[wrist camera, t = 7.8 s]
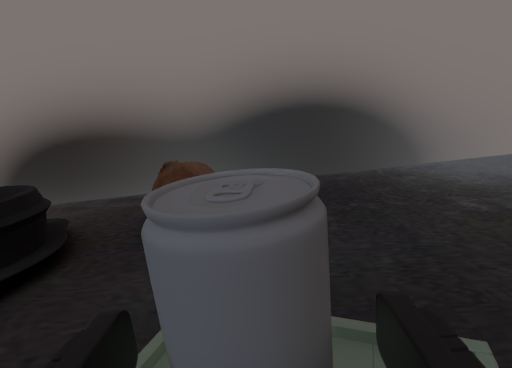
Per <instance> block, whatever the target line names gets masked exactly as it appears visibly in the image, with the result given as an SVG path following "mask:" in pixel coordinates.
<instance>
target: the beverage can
mask: <svg viewBox="0 0 512 368" xmlns="http://www.w3.org/2000/svg"><path fill="white" fill-rule="evenodd" d="M319 188H320V181H319V180H318V179H317V178H316V177H315V176H314V175H312V174H309V173H307V172H303V171H298V170H291V169H279V168H278V169H277V168H261V169H260V168H259V169H243V170H232V171H224V172H217V173H210V174H205V175H200V176H195V177H191V178H187V179H183V180H179V181H176V182H173V183H170V184H167V185H164V186H162V187H160V188H158V189H155V190H153V191H152V192H150V193H149V194H148V195H146V196H145V197H144V199H143V201H142V202H141V207H142V209H143V211H144V213H145V214H146V216H147V219H146V221H145V223H144V225H143V228H142V231H141V235H142V242H143V246H144V251H145V256H146V261H147V266H148V271H149V275H150V280H151V285H152V289H153V294H154V299H155V303H156V308H157V312H158V317H159V321H160V326H161V330H162V334H163V338H164V343H165V347H166V351H167V356H168V360H169V364H170V368H333V351H332V327H331V303H330V279H329V255H328V231H327V212H326V208H325V205H324V204H323V202H322V201H321V200H320V198H319V197H318V196H317V195H318V192H319Z"/></svg>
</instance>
